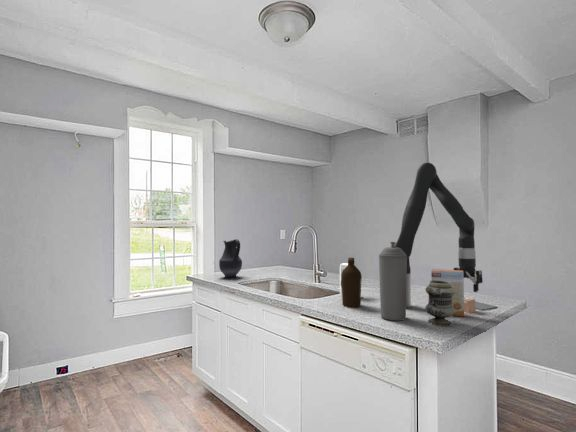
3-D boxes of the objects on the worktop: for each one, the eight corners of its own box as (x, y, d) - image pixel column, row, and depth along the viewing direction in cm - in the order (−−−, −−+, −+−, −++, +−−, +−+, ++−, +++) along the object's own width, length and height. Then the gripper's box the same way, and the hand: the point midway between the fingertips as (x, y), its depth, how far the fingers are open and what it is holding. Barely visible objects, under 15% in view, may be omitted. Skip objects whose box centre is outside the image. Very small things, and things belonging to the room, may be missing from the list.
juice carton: (344, 294, 217) (344, 262, 217) (357, 295, 212) (357, 263, 212) (338, 296, 211) (338, 263, 211) (351, 298, 206) (351, 264, 206)
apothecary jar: (440, 328, 150) (440, 285, 150) (419, 320, 161) (419, 280, 161) (461, 324, 155) (461, 282, 155) (439, 317, 166) (439, 278, 166)
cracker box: (464, 314, 172) (463, 269, 172) (464, 317, 166) (463, 271, 166) (432, 311, 178) (432, 268, 178) (431, 314, 172) (431, 270, 172)
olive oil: (343, 308, 185) (343, 259, 185) (339, 303, 195) (339, 256, 195) (364, 307, 185) (363, 258, 185) (359, 302, 195) (358, 256, 196)
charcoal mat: (481, 310, 177) (481, 309, 177) (460, 305, 188) (460, 304, 188) (497, 307, 183) (497, 306, 183) (476, 302, 193) (476, 301, 193)
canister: (396, 313, 174) (395, 240, 174) (413, 320, 162) (413, 242, 162) (373, 315, 170) (372, 241, 170) (389, 323, 158) (388, 243, 158)
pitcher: (234, 275, 291) (234, 237, 291) (249, 278, 275) (248, 239, 275) (215, 277, 280) (214, 238, 280) (229, 281, 264) (228, 240, 264)
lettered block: (468, 313, 173) (468, 300, 173) (459, 310, 178) (459, 298, 178) (475, 311, 175) (475, 299, 175) (466, 309, 180) (466, 297, 180)
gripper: (449, 256, 182) (450, 288, 181) (474, 259, 169) (475, 293, 169) (459, 255, 185) (460, 287, 185) (485, 257, 172) (486, 292, 172)
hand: (467, 290), depth 177 cm, fingers open, 8 cm apart
